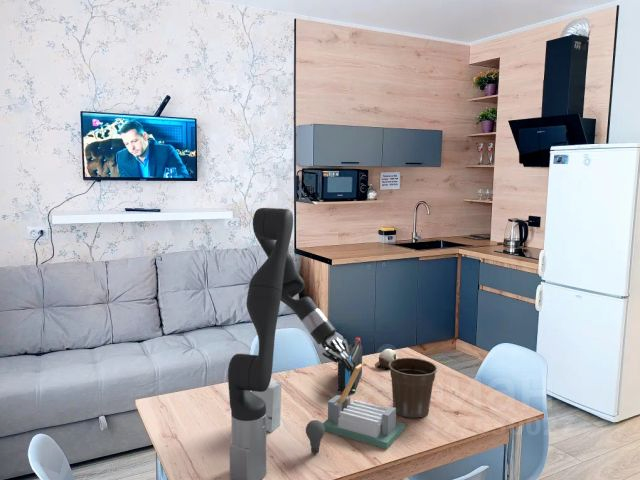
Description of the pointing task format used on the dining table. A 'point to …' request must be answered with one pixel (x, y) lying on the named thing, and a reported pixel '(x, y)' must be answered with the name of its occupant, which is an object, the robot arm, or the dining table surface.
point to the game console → (344, 375)
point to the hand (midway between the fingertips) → (351, 369)
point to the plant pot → (412, 386)
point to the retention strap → (350, 383)
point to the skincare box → (272, 404)
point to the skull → (386, 359)
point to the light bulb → (315, 434)
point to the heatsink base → (363, 422)
